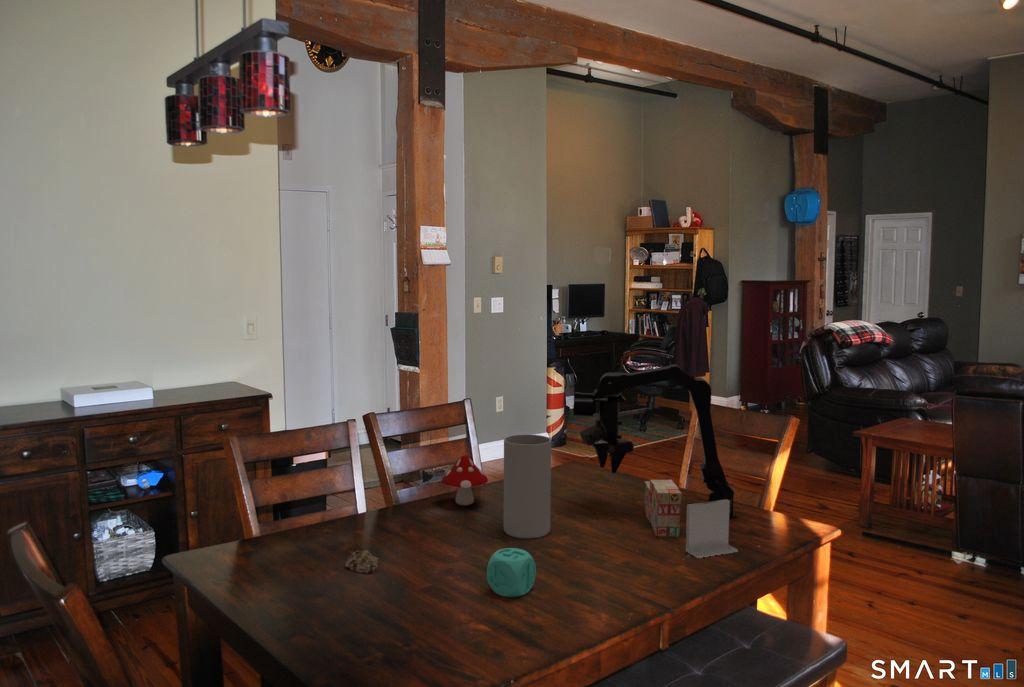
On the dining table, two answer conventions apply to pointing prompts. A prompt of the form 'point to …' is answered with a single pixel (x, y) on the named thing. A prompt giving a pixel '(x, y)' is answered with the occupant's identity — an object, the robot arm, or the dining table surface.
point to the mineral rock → (362, 562)
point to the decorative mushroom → (464, 479)
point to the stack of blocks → (663, 506)
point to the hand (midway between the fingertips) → (608, 470)
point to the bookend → (708, 529)
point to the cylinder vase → (527, 486)
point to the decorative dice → (511, 572)
